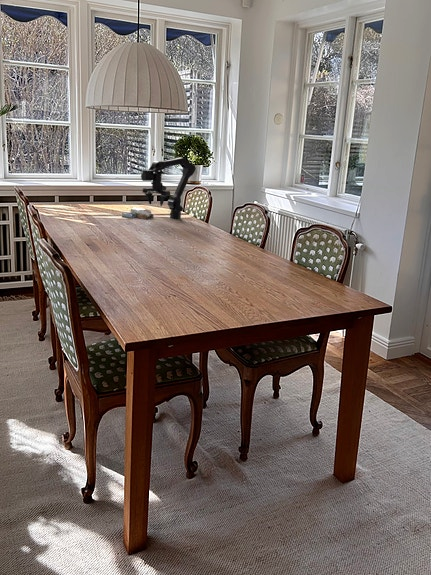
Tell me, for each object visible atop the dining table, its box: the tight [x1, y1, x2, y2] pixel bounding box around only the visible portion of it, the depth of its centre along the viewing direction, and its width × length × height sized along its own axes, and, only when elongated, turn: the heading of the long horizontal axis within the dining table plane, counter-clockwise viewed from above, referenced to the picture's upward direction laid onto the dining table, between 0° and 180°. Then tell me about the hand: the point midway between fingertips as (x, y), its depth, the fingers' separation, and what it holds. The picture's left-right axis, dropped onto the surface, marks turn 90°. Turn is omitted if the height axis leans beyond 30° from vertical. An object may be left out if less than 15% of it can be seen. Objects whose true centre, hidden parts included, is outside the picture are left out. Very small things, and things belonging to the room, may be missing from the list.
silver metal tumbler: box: [130, 207, 152, 219], centre depth 351 cm, size 13×6×6 cm, turn 61°
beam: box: [120, 211, 154, 220], centre depth 353 cm, size 22×9×3 cm, turn 61°
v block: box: [121, 212, 138, 220], centre depth 347 cm, size 8×6×3 cm
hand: (155, 205), depth 344 cm, fingers open, 8 cm apart
